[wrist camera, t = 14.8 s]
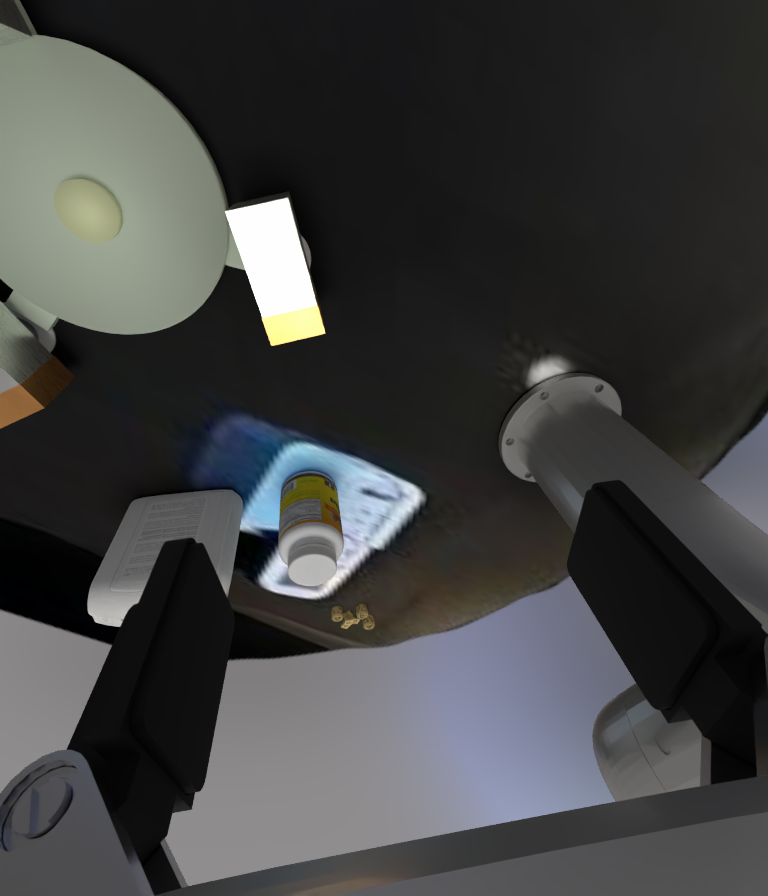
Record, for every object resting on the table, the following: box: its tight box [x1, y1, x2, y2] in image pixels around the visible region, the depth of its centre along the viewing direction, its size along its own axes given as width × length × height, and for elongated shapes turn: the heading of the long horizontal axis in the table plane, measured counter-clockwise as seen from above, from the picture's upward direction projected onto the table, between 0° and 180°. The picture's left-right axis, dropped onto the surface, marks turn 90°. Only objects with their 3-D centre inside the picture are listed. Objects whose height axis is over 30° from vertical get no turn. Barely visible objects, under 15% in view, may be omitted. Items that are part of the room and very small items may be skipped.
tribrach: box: [0, 0, 311, 352], centre depth 25 cm, size 23×22×3 cm
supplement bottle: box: [278, 471, 344, 586], centre depth 38 cm, size 6×6×10 cm
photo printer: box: [88, 490, 243, 627], centre depth 36 cm, size 10×4×12 cm, turn 90°
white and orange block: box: [225, 192, 325, 346], centre depth 27 cm, size 8×4×6 cm, turn 10°
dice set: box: [331, 604, 375, 630], centre depth 55 cm, size 5×5×2 cm
